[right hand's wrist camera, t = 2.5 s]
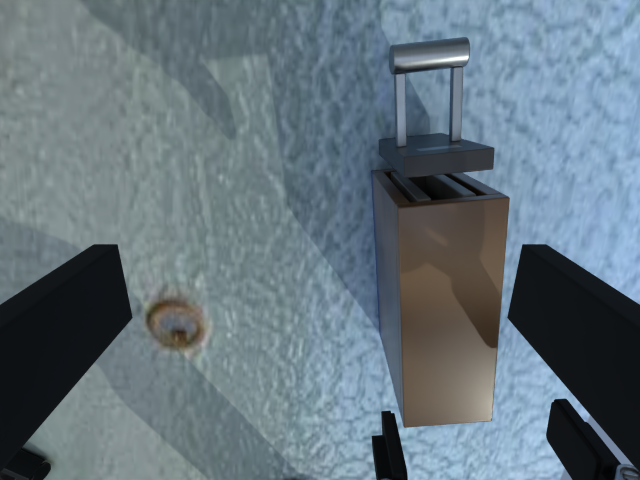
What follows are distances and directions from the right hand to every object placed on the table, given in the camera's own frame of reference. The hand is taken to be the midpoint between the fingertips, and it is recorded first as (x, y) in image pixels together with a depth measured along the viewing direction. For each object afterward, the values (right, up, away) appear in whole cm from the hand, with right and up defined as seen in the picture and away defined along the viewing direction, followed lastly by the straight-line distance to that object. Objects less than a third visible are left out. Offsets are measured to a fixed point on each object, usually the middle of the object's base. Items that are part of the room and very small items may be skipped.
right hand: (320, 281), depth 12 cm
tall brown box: (+8, 0, +22) cm, 23 cm away
